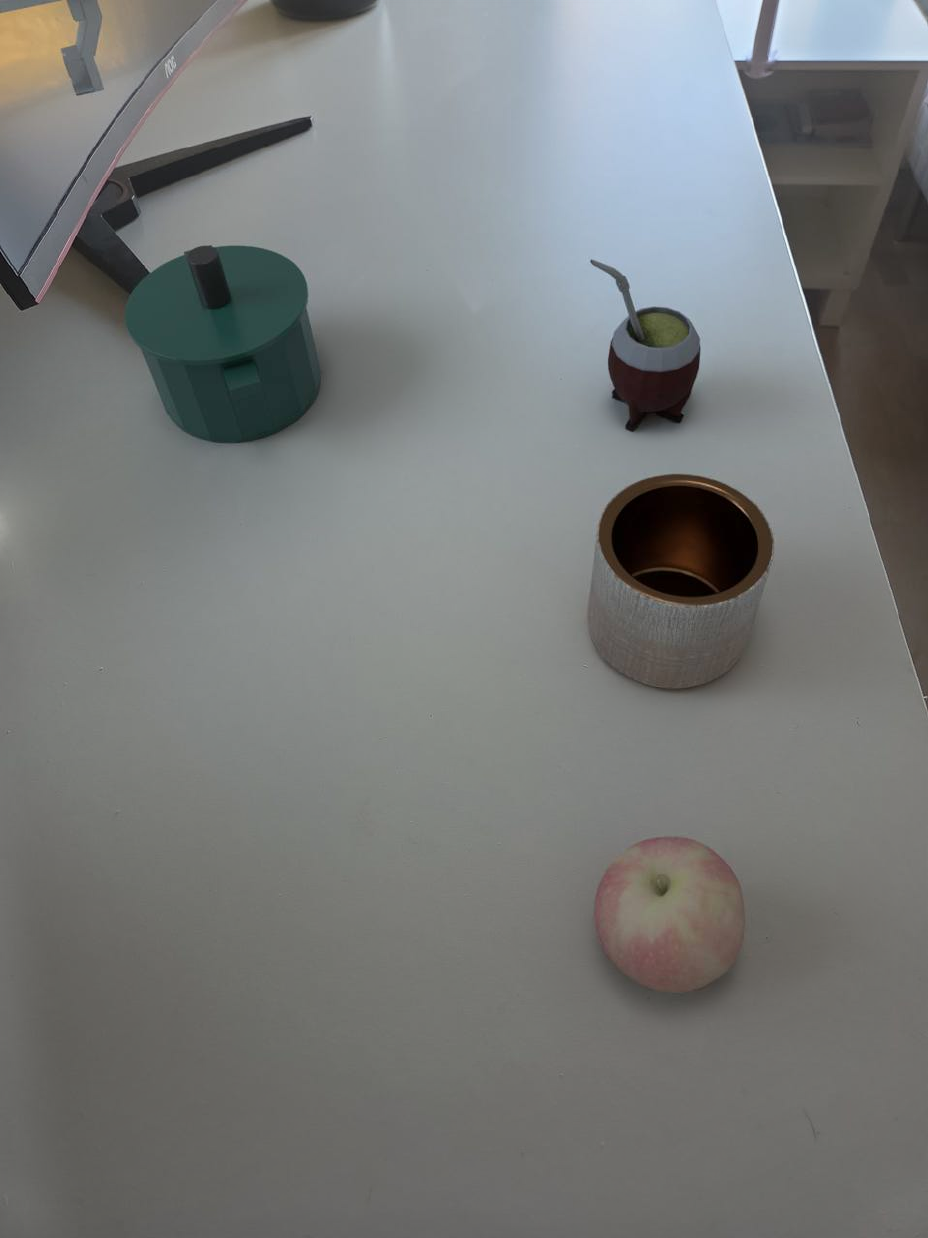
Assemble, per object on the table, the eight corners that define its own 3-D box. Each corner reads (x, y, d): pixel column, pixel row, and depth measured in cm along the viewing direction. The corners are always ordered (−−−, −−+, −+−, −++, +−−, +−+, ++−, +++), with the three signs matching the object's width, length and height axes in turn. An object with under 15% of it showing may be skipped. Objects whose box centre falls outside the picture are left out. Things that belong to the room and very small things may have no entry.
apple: (678, 848, 57) (698, 790, 51) (760, 963, 53) (793, 916, 47) (564, 913, 55) (570, 861, 49) (640, 1037, 51) (657, 999, 45)
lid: (146, 392, 71) (122, 336, 67) (115, 284, 79) (93, 228, 75) (331, 340, 74) (320, 282, 69) (284, 239, 82) (271, 182, 77)
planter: (760, 691, 63) (793, 605, 55) (593, 696, 63) (603, 612, 56) (732, 561, 69) (758, 467, 61) (580, 567, 70) (587, 474, 62)
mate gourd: (704, 396, 79) (737, 232, 67) (661, 456, 76) (687, 293, 63) (624, 366, 82) (641, 202, 70) (578, 422, 78) (588, 260, 66)
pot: (186, 483, 77) (153, 402, 70) (148, 343, 87) (116, 260, 80) (347, 436, 79) (330, 353, 72) (291, 304, 89) (272, 221, 82)
